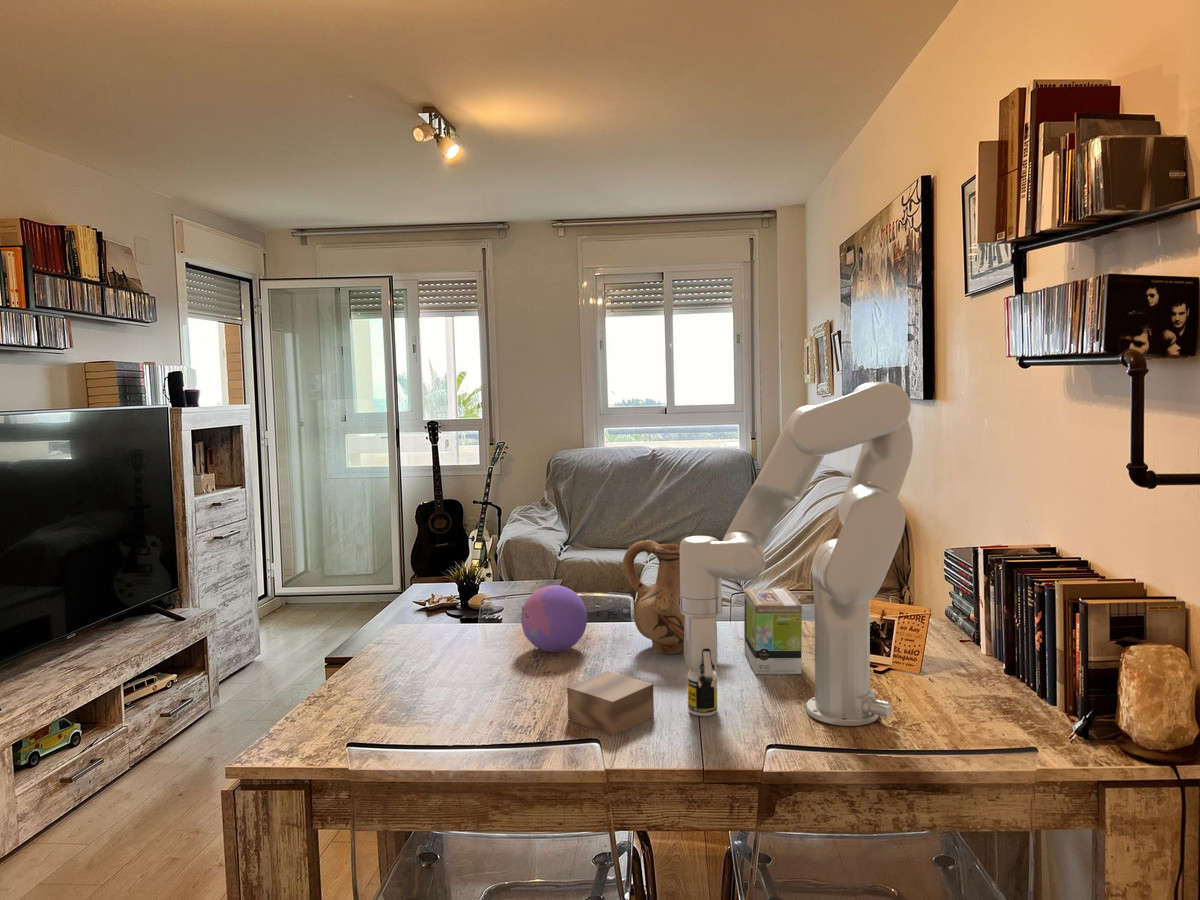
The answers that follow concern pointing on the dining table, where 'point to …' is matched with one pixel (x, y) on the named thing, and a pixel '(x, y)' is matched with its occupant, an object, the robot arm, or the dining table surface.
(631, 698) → the walnut block
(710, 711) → the supplement bottle
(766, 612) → the tea box
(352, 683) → the dining table surface
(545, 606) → the decorative ball
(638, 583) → the ceramic vessel
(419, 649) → the dining table surface
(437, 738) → the dining table surface
